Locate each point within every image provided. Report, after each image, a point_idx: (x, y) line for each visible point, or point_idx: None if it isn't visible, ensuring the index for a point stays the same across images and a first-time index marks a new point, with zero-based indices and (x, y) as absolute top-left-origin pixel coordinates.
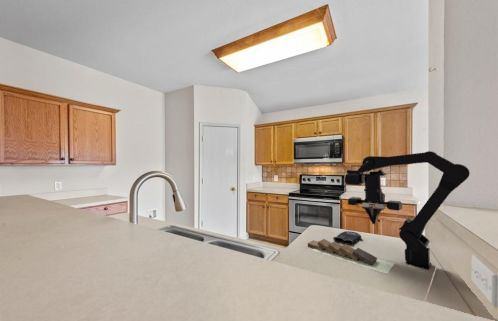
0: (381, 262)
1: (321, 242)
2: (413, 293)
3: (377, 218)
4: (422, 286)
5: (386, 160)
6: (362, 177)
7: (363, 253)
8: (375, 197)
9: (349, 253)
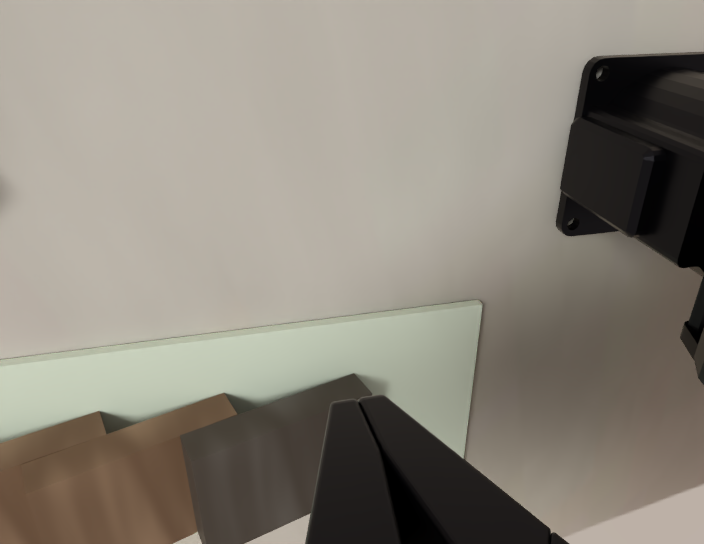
0: (394, 363)
1: None
2: (580, 527)
3: (485, 478)
4: (623, 444)
5: None
6: None
7: (275, 478)
8: None
9: (170, 539)
